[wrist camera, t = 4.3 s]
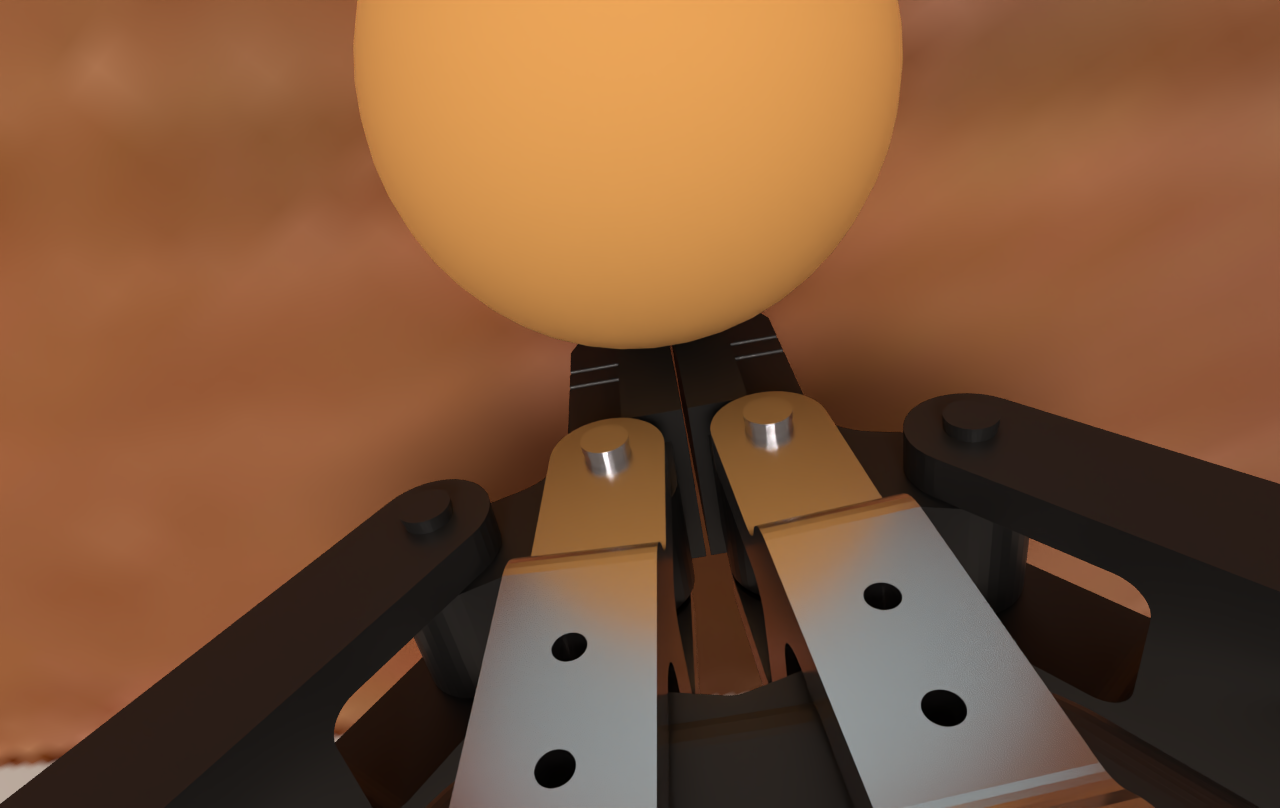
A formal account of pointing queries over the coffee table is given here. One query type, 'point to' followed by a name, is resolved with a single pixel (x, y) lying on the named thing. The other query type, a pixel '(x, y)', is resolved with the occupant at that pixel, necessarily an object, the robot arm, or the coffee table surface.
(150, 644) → the coffee table surface
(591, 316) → the ball
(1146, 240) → the coffee table surface
